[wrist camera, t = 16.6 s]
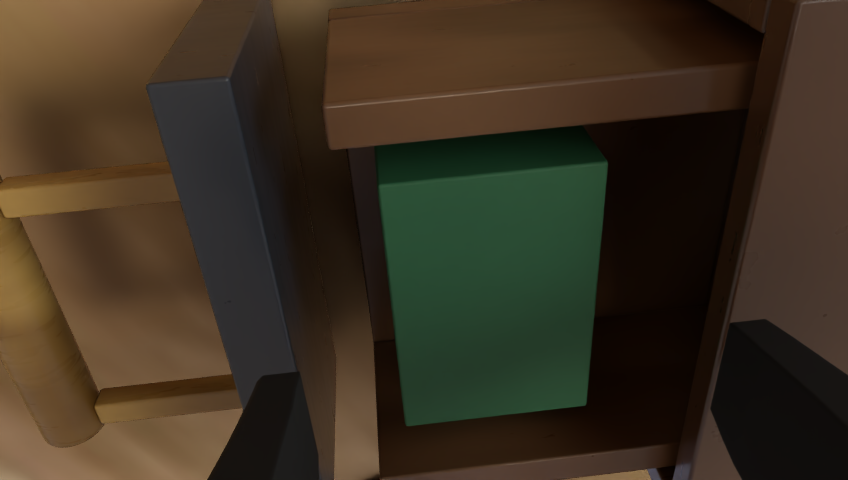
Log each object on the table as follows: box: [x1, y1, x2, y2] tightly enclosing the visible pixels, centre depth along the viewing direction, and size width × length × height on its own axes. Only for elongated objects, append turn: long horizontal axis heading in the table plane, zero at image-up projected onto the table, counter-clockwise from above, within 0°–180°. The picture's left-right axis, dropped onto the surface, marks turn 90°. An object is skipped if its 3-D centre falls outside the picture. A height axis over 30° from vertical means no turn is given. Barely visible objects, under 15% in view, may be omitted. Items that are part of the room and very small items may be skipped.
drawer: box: [0, 0, 764, 480], centre depth 15 cm, size 18×11×6 cm, turn 94°
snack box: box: [374, 125, 608, 426], centre depth 15 cm, size 4×6×4 cm, turn 4°
